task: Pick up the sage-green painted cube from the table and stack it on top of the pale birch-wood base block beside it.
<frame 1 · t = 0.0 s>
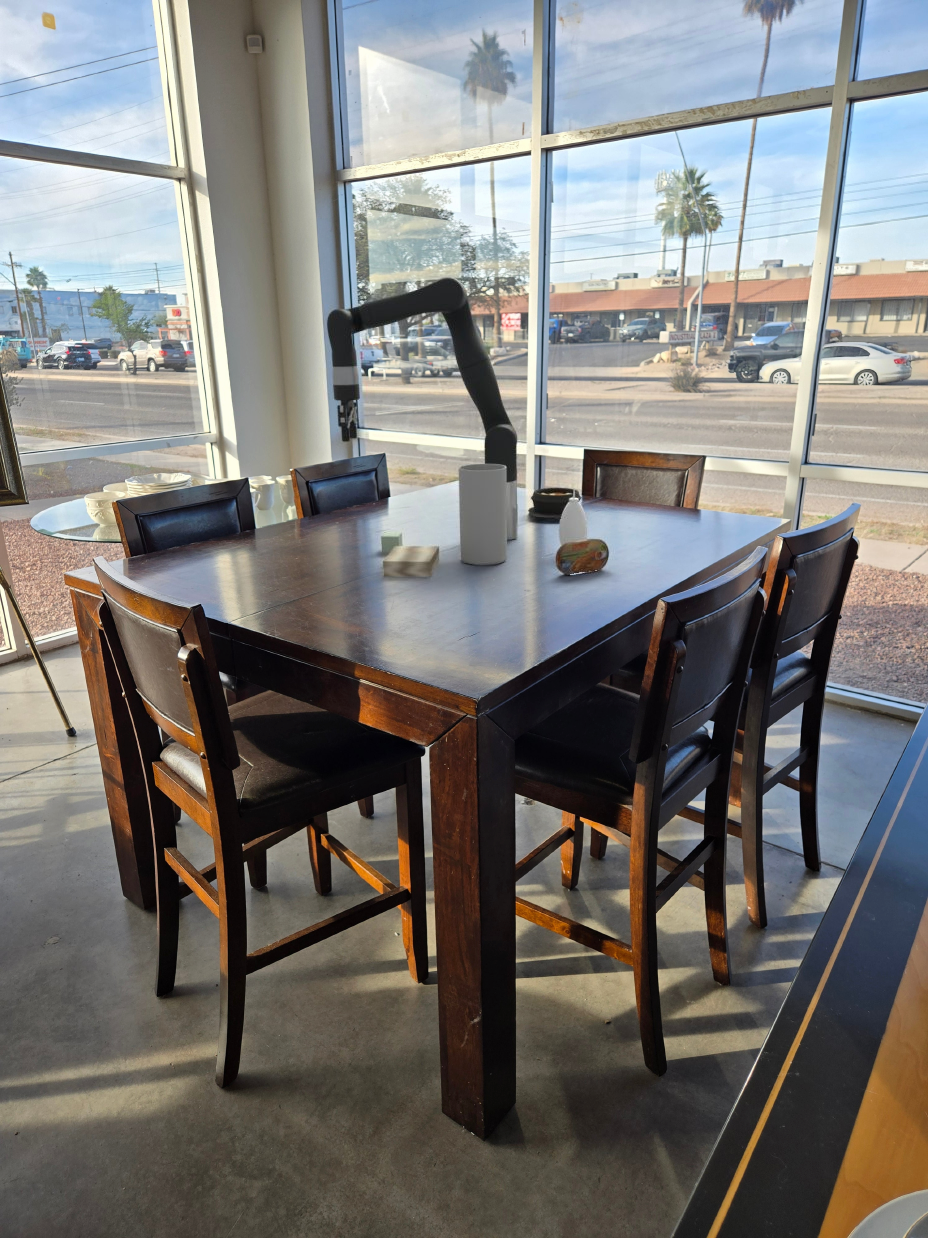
hand: (349, 439, 236), 29 cm above the table, tool pointing down, fingers open, 8 cm apart
casserole: (555, 516, 269), on the table
cylinder vase: (483, 560, 216), on the table
base block: (412, 568, 209), on the table
tin: (581, 573, 202), on the table
sauce bottle: (572, 554, 220), on the table
cube: (392, 551, 227), on the table
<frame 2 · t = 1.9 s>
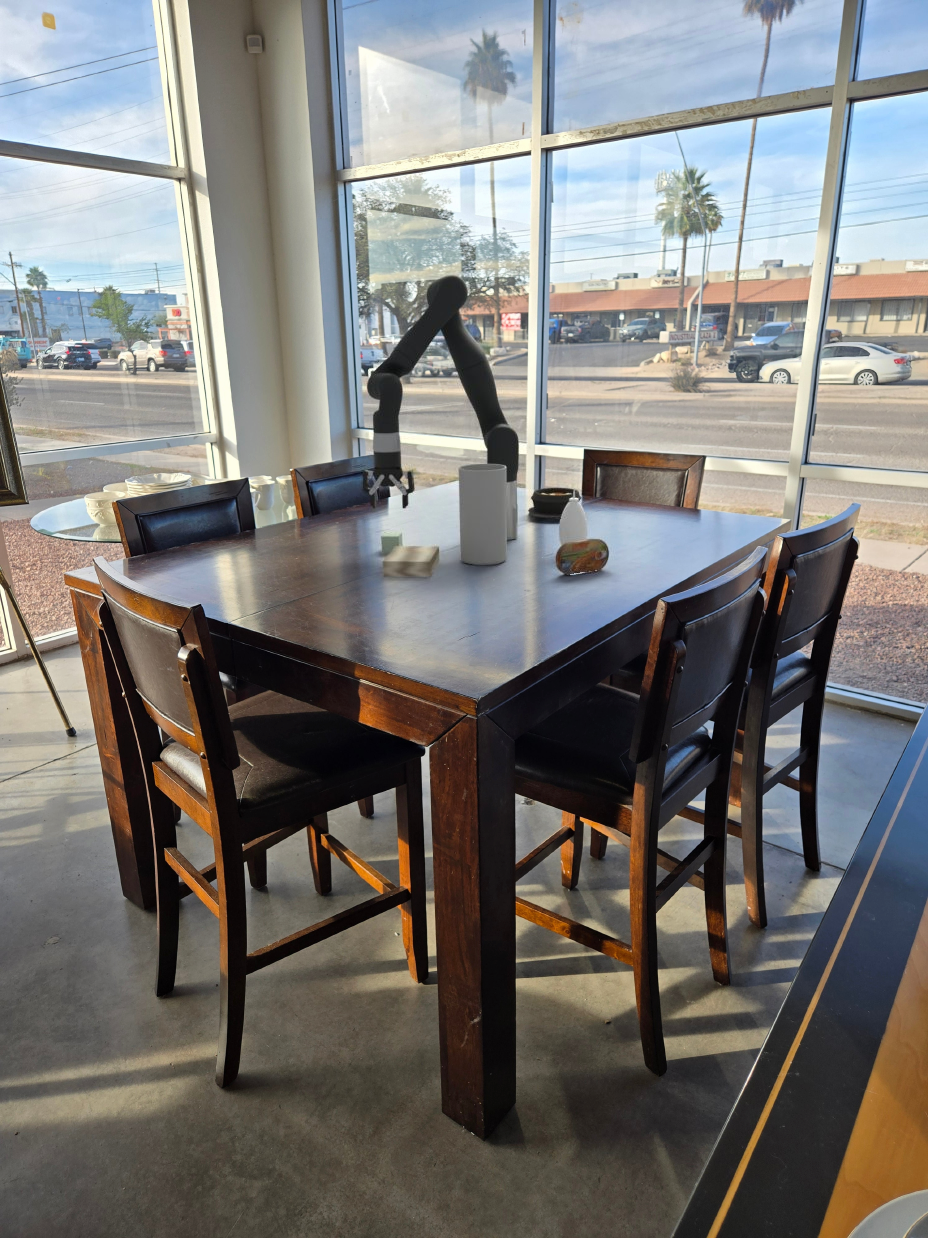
hand: (389, 507, 223), 12 cm above the table, tool pointing down, fingers open, 8 cm apart
nothing on the table moved.
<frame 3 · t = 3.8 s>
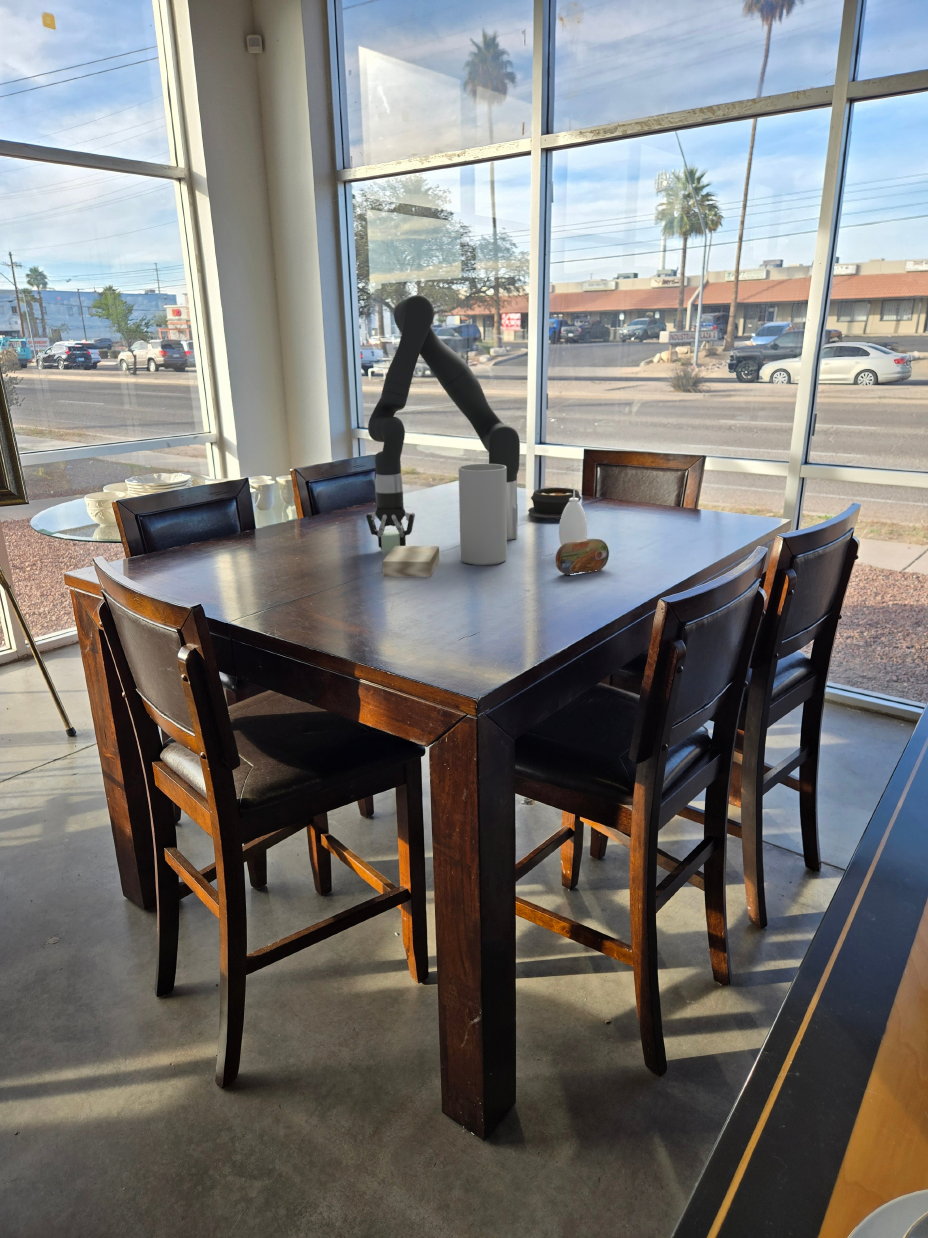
hand: (392, 548, 227), 1 cm above the table, tool pointing down, fingers closed on cube, 5 cm apart
cube: (392, 551, 227), on the table, touching gripper
everything else where it was.
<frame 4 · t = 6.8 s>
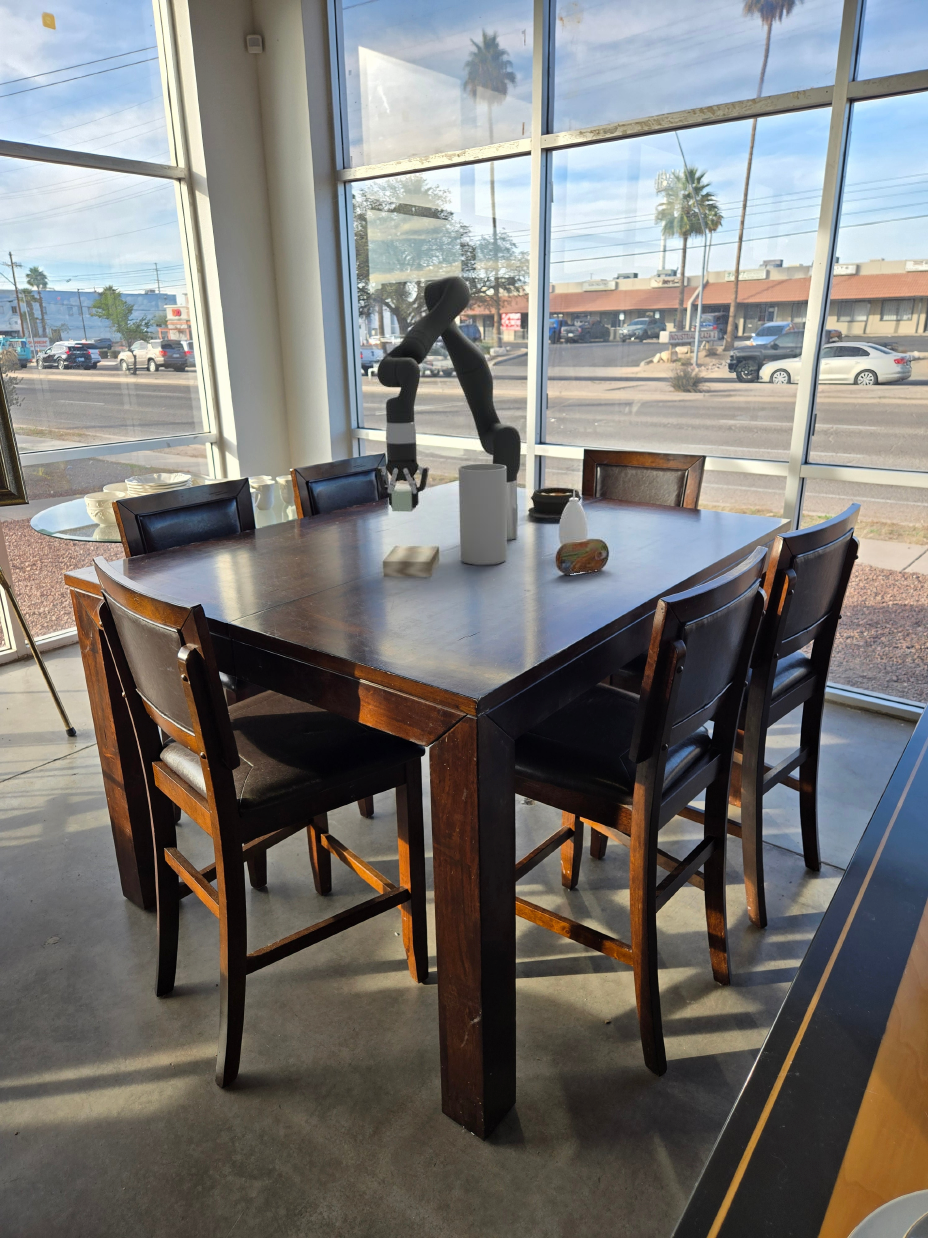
hand: (403, 506, 207), 16 cm above the table, tool pointing down, fingers closed on cube, 5 cm apart
cube: (403, 509, 207), point 15 cm above the table, touching gripper
everything else where it was.
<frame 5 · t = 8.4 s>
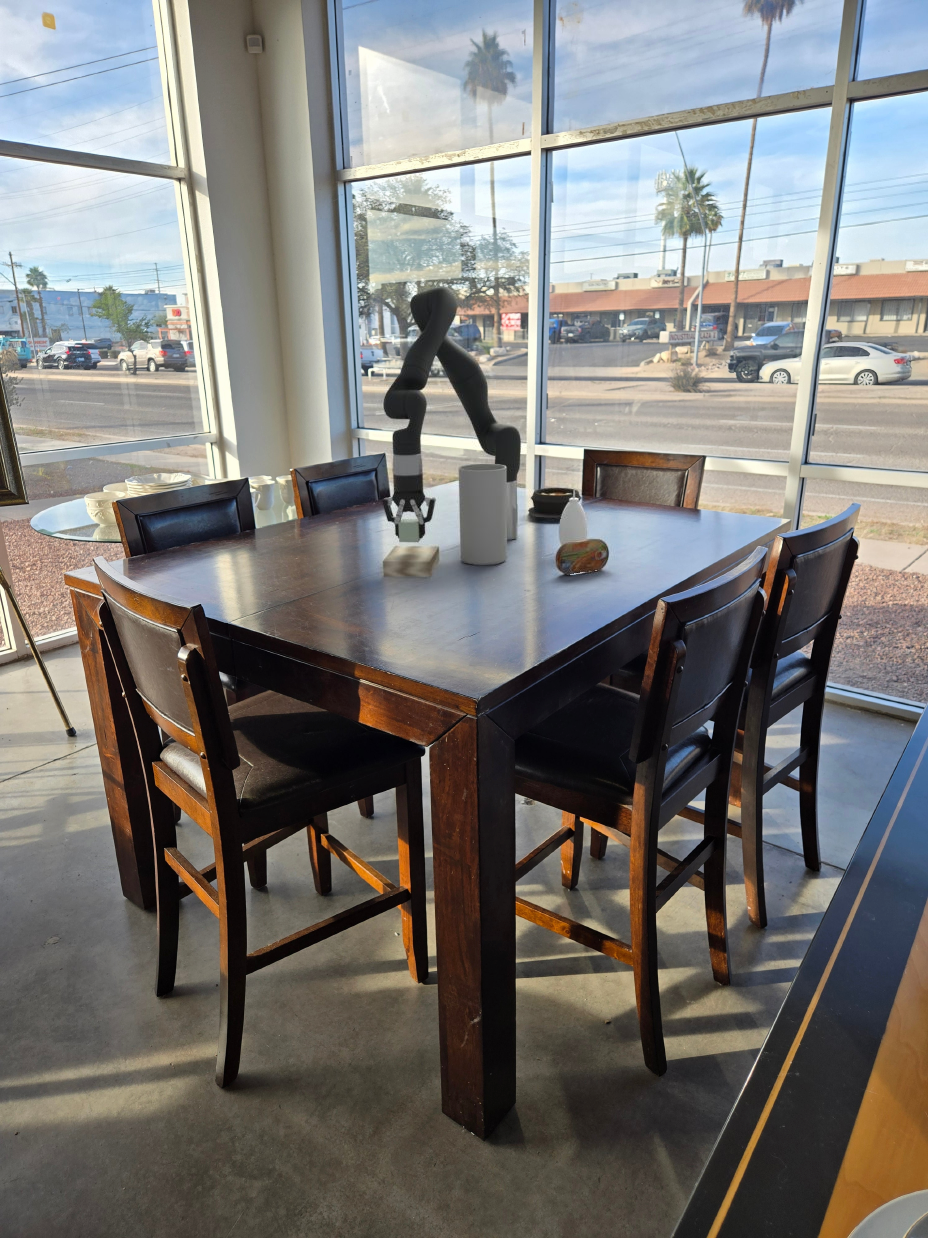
hand: (410, 537, 206), 8 cm above the table, tool pointing down, fingers closed on cube, 5 cm apart
cube: (410, 539, 207), point 8 cm above the table, touching gripper
everything else where it was.
when the fingers open (6 cm above the table, at t = 9.7 s): cube drops 1 cm, resting on base block.
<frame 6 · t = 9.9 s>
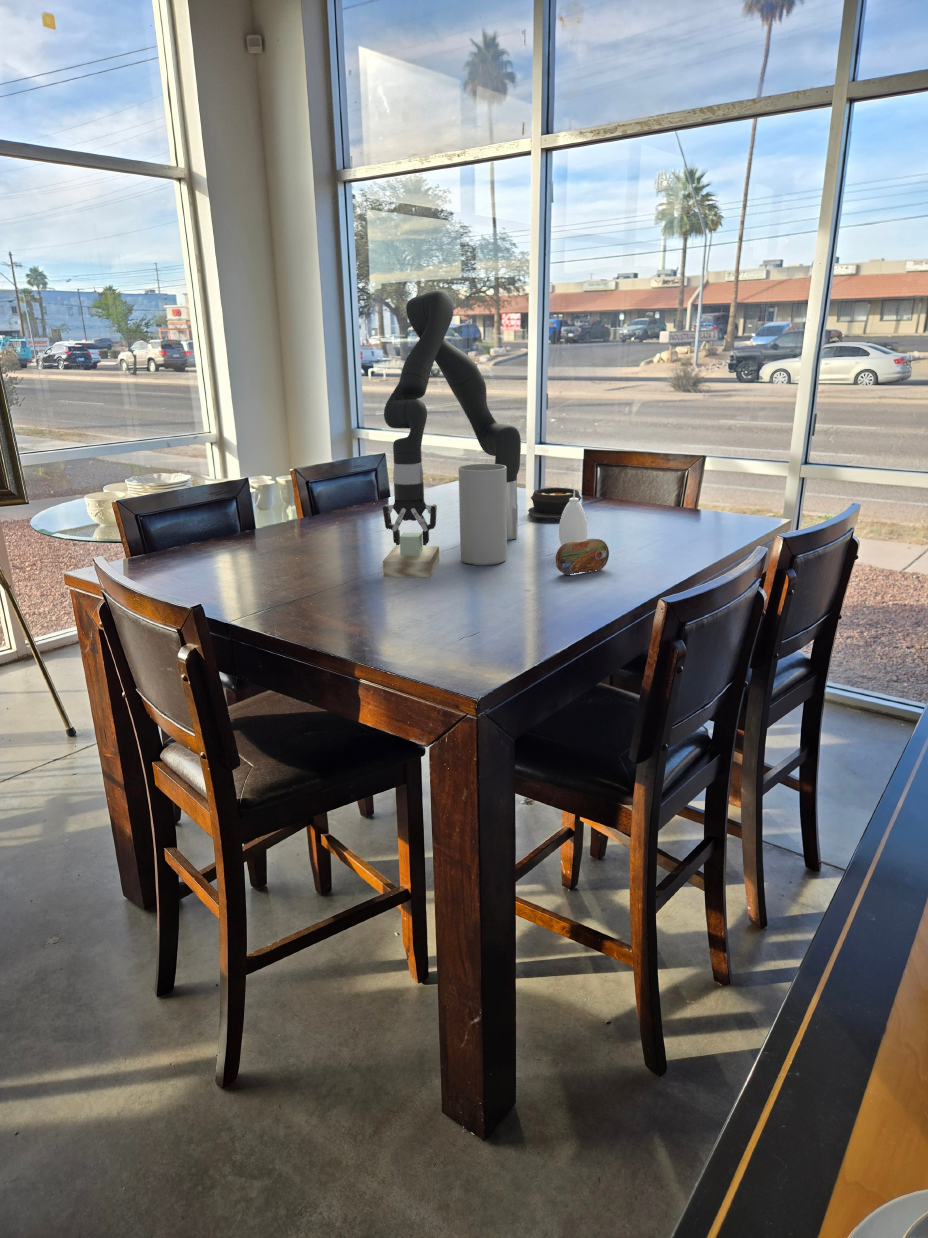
hand: (411, 544, 207), 6 cm above the table, tool pointing down, fingers open, 6 cm apart
cube: (411, 553, 208), point 4 cm above the table, touching base block
everything else where it was.
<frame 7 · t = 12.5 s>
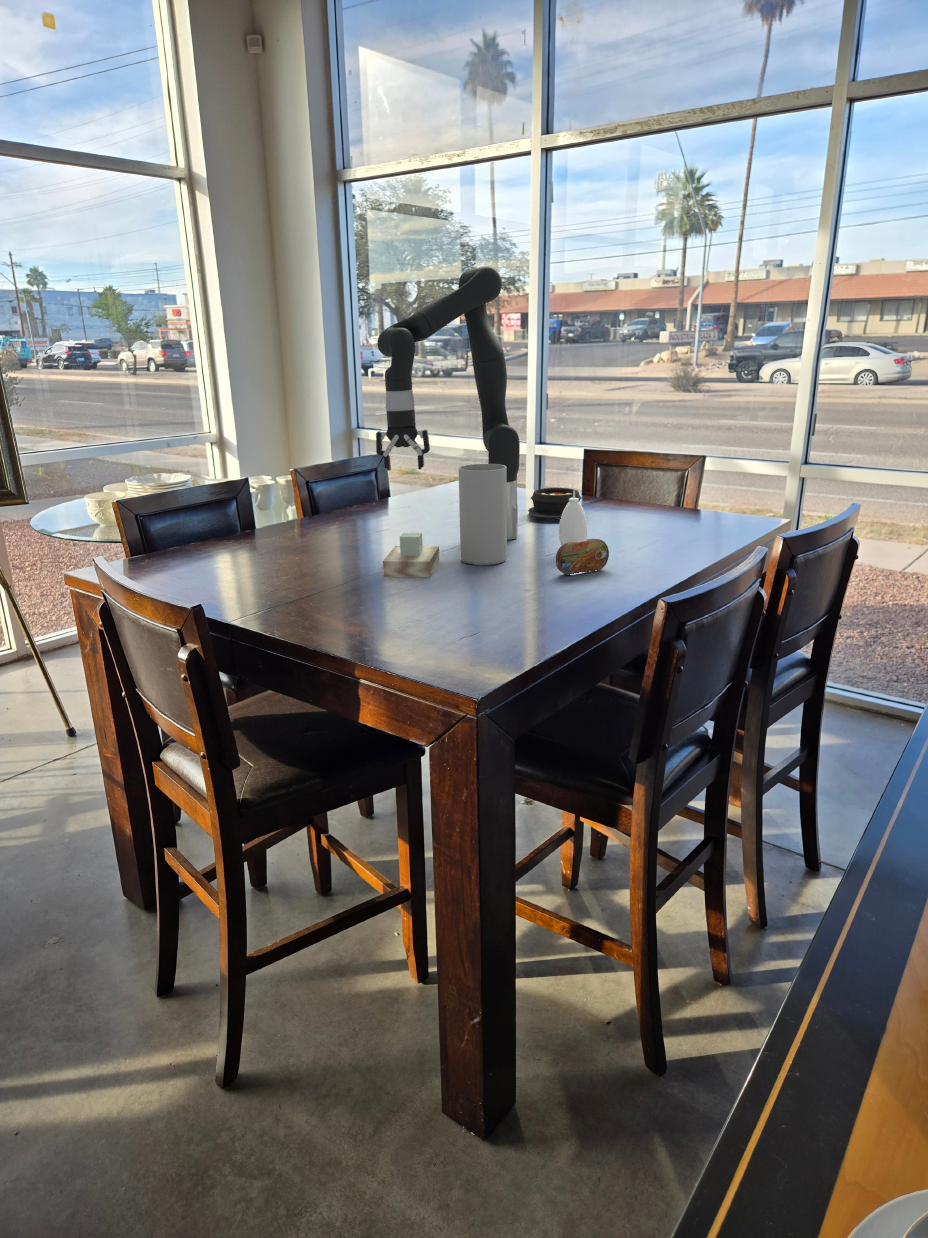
hand: (404, 469, 216), 24 cm above the table, tool pointing down, fingers open, 8 cm apart
nothing on the table moved.
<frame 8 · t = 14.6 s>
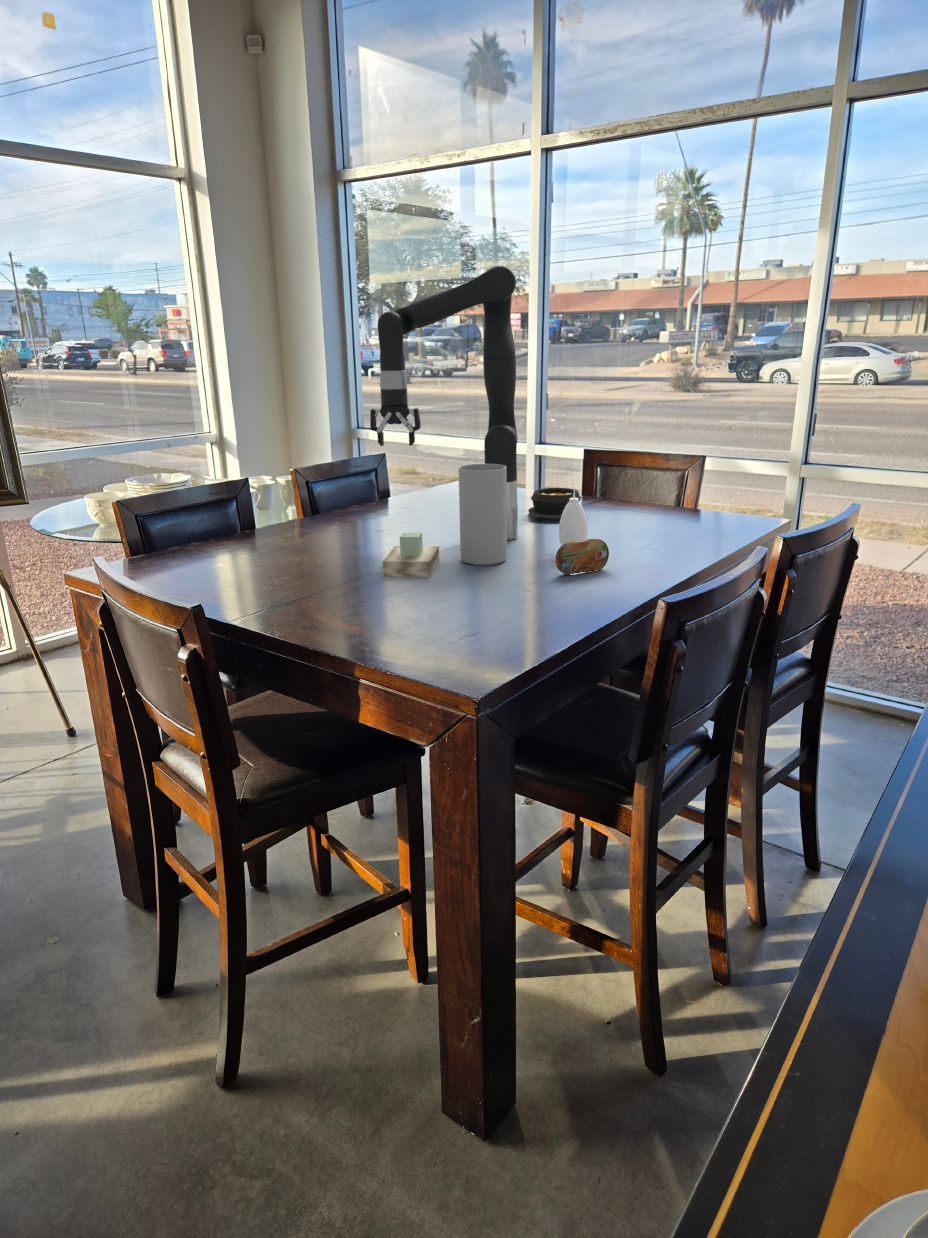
hand: (396, 445, 230), 28 cm above the table, tool pointing down, fingers open, 8 cm apart
nothing on the table moved.
at the end: cube inside the target area on the base block (0.0 cm from its centre), point 4.0 cm above the base block's base; cube tilted 0°; the gripper is holding nothing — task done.
